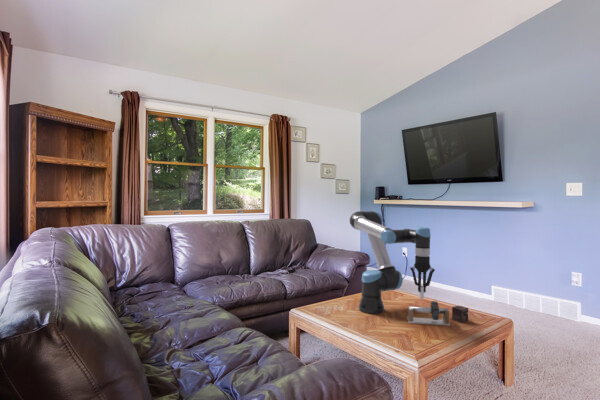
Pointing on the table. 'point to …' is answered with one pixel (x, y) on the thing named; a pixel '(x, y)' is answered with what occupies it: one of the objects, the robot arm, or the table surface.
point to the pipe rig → (426, 320)
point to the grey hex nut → (435, 310)
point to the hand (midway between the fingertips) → (421, 298)
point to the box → (460, 314)
